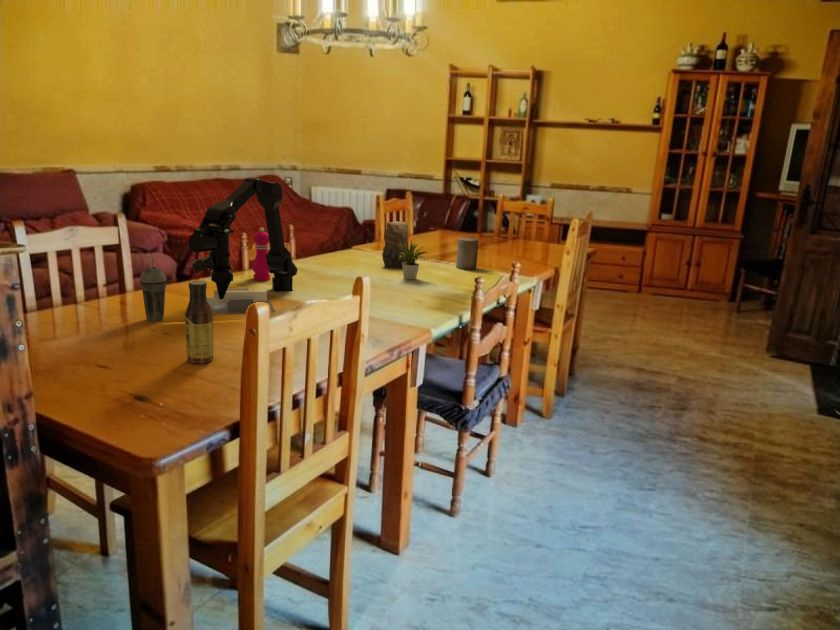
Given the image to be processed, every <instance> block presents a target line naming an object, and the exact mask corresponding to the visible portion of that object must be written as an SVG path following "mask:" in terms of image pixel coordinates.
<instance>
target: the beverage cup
mask: <svg viewBox="0 0 840 630" xmlns="http://www.w3.org/2000/svg"><path fill="white" fill-rule="evenodd" d="M147 255H148V264H149V267H147V268H145V269H144V270H143V271H142V272H141V274H140V277H139V278H140V279H139V284H140V287H141V288H140V289H141V291H142V298H143V305H144V310H145V317H146V321H148V322H151V323H157V322H162V321H163V319H164V315H165V301H166V300H165V299H166V288H167V282H168V280H167V276H166V274H165V272H164V271H163V270H162V269H160V268H159V267H155V266H153V265H152V259H151V258H152V257H151V253H150V252H147Z"/></svg>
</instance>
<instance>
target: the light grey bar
mask: <svg viewBox="0 0 840 630" xmlns="http://www.w3.org/2000/svg"><path fill="white" fill-rule="evenodd" d="M249 297H253V301H267V297H268V291H267V289H249V290H227V291H226V293H225V296H224V298H223V299H219V295H218V291H217V290H213V298H214V302H230V298H249Z"/></svg>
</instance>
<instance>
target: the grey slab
mask: <svg viewBox="0 0 840 630" xmlns="http://www.w3.org/2000/svg"><path fill="white" fill-rule="evenodd" d="M227 290H250V289H249V288H228V289H227ZM206 301H207V302H208V304H209V305H210V307H211V309H212V315H223V314H225V315H226V314H227V315H229V314H247V313H246V310H247V308H248V306H249V305H251V304H253V303H256V302H265V303H268V304H269V305H270V309H271V312H270V313H276V310H275V308H274V306H273V304H272V302H271V301H270V299H269V298H268V296H267V301H255V302H254V301H253V297H249V298H230V302H214V297H207V299H206Z"/></svg>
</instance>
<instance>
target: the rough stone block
mask: <svg viewBox="0 0 840 630" xmlns="http://www.w3.org/2000/svg"><path fill="white" fill-rule="evenodd" d="M408 235H409V230H408V222H407V221H399V220H394V221H391V222H390V221H387V222H386V227H385V230H384V235H383V240H384V247H383V248H382V254H381V257H382V261H383V267H384V268H388V269H391V268H392V269H401V270H403V266H402V263H404V262H406V260H405V259H403V258H404V255H402V254H400V253H401V252H403V253H404V251H403V250H402V249H403V248H402V247H400V245H401V246H403V247H404V249H405V251H406V248H405V245H407V247H408V249H410V247H409V246H410V245H409V236H408ZM404 243H405V245H404ZM395 244H397V245H395ZM401 248H402V249H401ZM406 253H407V251H406ZM404 254H405V253H404ZM399 256H403V257H399ZM400 258H401V259H400Z"/></svg>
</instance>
